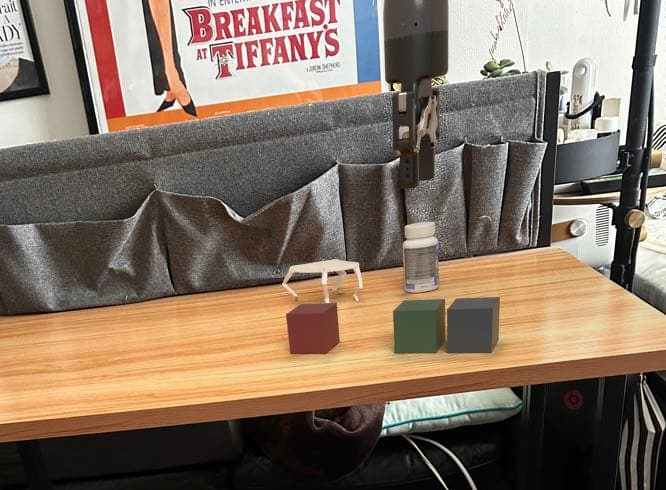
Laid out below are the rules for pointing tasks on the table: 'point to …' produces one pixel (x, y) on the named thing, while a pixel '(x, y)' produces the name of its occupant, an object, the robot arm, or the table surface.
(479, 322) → the slate block
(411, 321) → the green block
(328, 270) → the white legged frame
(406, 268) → the pill bottle
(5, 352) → the table surface
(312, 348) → the maroon block
